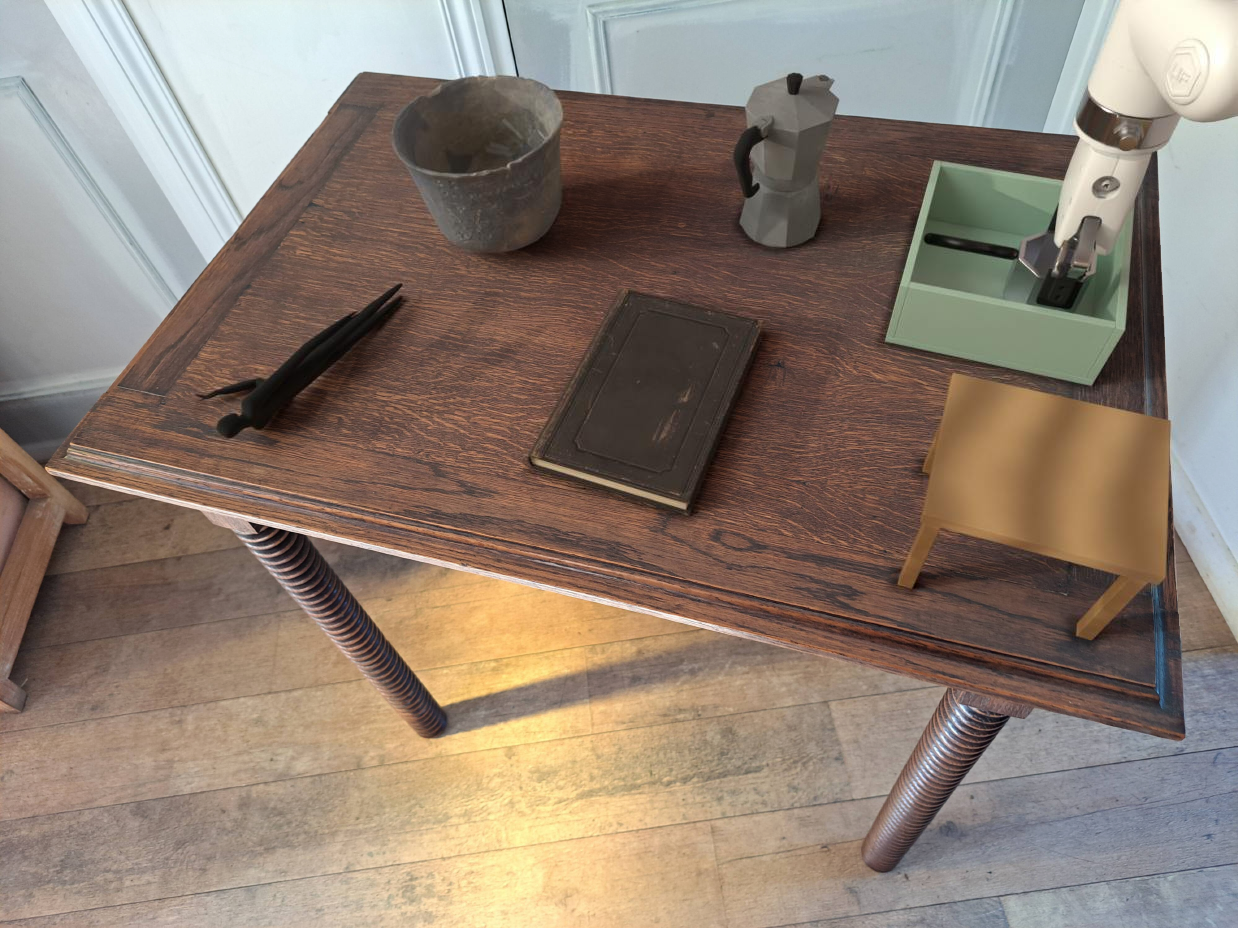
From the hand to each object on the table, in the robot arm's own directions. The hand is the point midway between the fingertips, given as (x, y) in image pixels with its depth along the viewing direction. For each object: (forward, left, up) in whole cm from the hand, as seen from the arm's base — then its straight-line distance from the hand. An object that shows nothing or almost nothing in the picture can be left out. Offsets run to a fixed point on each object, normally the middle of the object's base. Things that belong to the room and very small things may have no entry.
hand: (1057, 271), depth 84 cm
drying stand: (0, +30, -5) cm, 30 cm away
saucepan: (+5, 0, -4) cm, 6 cm away
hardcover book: (+34, +24, -5) cm, 42 cm away
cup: (+59, +6, -5) cm, 60 cm away
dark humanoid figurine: (+71, +30, -5) cm, 77 cm away
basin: (+4, 0, -5) cm, 7 cm away
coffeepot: (+29, -4, -5) cm, 30 cm away
